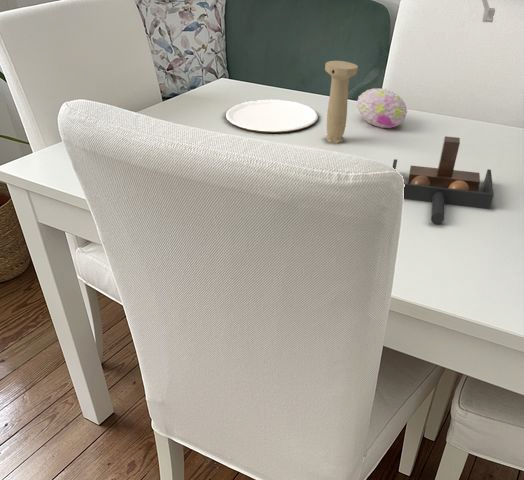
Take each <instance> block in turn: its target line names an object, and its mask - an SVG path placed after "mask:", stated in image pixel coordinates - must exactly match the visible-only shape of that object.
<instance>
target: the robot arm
mask: <svg viewBox="0 0 524 480" xmlns="http://www.w3.org/2000/svg"><path fill="white" fill-rule="evenodd" d="M481 2H482V5H483V15H482V19H481V20H482V23H493V22H494V16H495V12H496V9H495V7H490V5H489V1H488V0H481Z"/></svg>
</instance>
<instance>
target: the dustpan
mask: <svg viewBox="0 0 524 480" xmlns="http://www.w3.org/2000/svg"><path fill="white" fill-rule="evenodd" d="M397 164H398V159H395V158H394V159H393V162H392V167H393V168H394V169H397ZM403 183H404V184H405V187H404V199H403V200H409V201H416V202H417V201H418V202H425V203H426V202H427V203H431V211H430V213H431V215H430V221H431V222H432V223H433V224H434V225H440V224H442V223H443V222H444V221H445V208H446V207H445V205H451V206H459V207H468V208H474V209H475V208H476V209H483V210H484V209H486V210H490V209H491V206H492V202H493V199H494V195H495V194H494V185H493V177H492V169H489V168H488V169H487V170H486V174H485V177H484V181H483V191H478V192H476V191H468V190H459V189H450V188H442V187H433V186H424V185H415V184H408V182H407V183H405V182H403Z"/></svg>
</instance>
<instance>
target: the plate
mask: <svg viewBox="0 0 524 480" xmlns="http://www.w3.org/2000/svg"><path fill="white" fill-rule="evenodd" d="M318 117H319V116H318V113H317V112H316V111H315V109H314V108H312V107H310V106H309V105H306V104H303V103H300V102H296V101H291V100H283V99H257V100H250V101H244V102H241V103H238V104H236V105H234V106H231V107H230V108H229V109H228V110H226V114H225V118H226V120H227V121H228V122H229V123H230V124H231V125H233V126H235V127H237V128H239V129H242V130H246V131H249V132H256V133H264V134H265V133H267V134H269V133H270V134H281V133H290V132H296V131H301V130H303V129H304V130H305V129H307V128H309V127H311V126H312V125H315V123H316V122H317V121H318Z"/></svg>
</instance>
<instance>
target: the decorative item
mask: <svg viewBox="0 0 524 480" xmlns="http://www.w3.org/2000/svg"><path fill="white" fill-rule="evenodd" d="M357 98H358V99H357V100H356V108H357V111H358V114H360V116H361V117H362V119H363V120H364V121H366V122H367V123H368V124H370V125H371V126H375V127H377V128H381V129H392V128H394V127H398V126H399V125H401V124H402V123H403V122H404V121H405V120H406V118H407V114H408V109H407V104H406V102H405V101H404V100H403V98H402V97H400V95H399V94H397V93H395V92H394V91H391V90H389V89H387V88H377V87H375V88H371V89H367V90H365V91H364V92H361V94H360V95H359V96H358V97H357Z"/></svg>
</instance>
